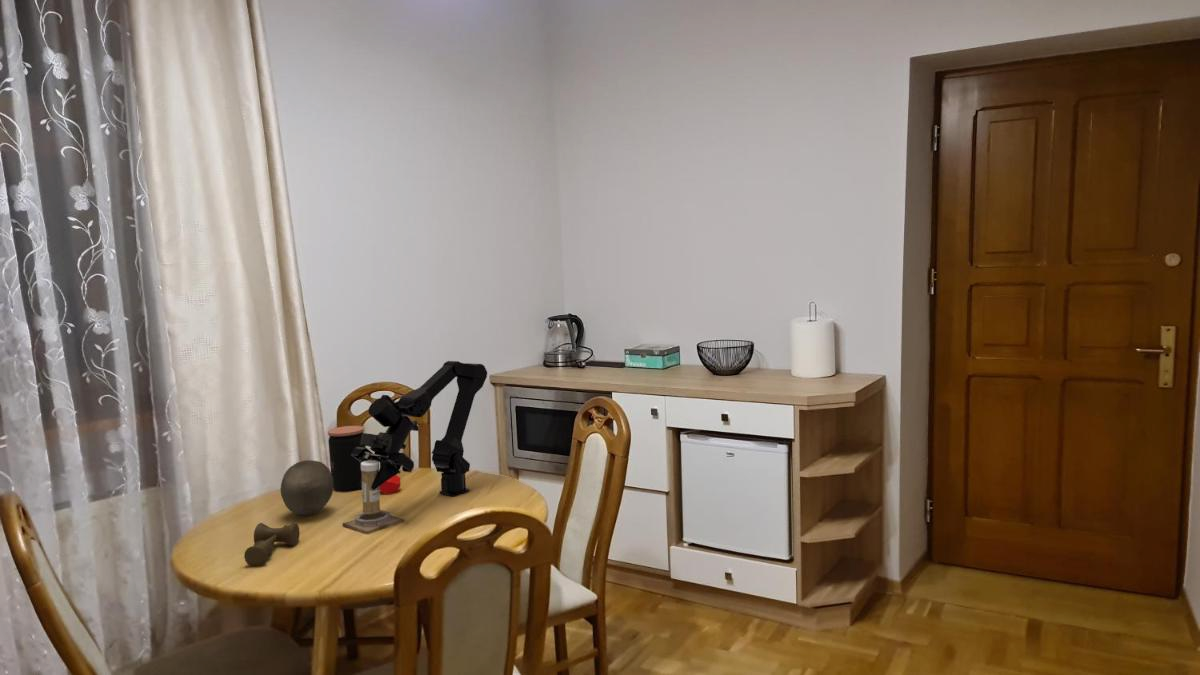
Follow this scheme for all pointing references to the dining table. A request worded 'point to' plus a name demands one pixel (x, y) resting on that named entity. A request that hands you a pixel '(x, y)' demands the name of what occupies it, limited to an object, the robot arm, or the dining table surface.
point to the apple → (390, 485)
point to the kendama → (269, 542)
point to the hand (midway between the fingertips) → (366, 487)
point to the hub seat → (372, 522)
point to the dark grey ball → (307, 487)
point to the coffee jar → (345, 457)
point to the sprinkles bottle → (368, 494)
